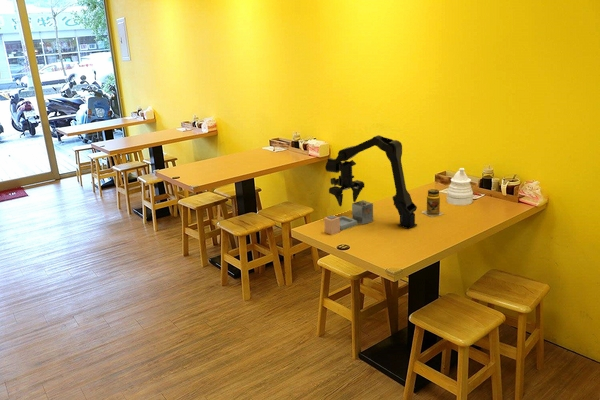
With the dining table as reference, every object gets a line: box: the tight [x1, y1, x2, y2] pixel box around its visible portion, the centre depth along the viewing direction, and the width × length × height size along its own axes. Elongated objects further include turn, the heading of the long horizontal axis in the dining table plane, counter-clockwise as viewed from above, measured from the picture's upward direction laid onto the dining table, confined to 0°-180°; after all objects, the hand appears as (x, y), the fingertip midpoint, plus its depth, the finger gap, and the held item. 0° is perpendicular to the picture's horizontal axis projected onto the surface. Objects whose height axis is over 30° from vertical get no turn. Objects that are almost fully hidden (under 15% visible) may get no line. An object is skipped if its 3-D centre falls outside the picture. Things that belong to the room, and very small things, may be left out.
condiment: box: [421, 188, 444, 217], centre depth 248 cm, size 7×8×12 cm
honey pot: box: [446, 167, 474, 206], centre depth 262 cm, size 13×13×18 cm
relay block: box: [323, 214, 341, 236], centre depth 233 cm, size 5×5×7 cm
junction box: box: [351, 199, 374, 226], centre depth 244 cm, size 8×7×10 cm
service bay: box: [338, 215, 358, 231], centre depth 242 cm, size 10×10×2 cm
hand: (347, 204), depth 252 cm, fingers open, 9 cm apart
